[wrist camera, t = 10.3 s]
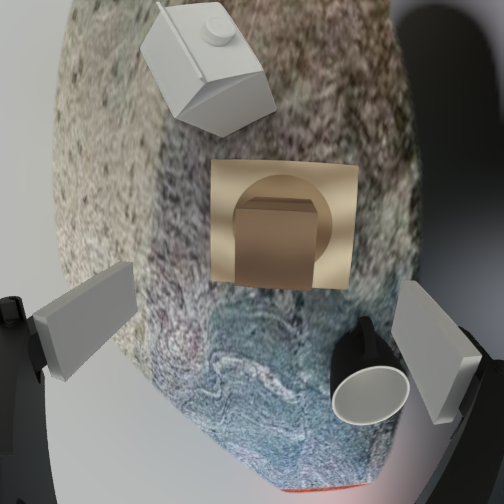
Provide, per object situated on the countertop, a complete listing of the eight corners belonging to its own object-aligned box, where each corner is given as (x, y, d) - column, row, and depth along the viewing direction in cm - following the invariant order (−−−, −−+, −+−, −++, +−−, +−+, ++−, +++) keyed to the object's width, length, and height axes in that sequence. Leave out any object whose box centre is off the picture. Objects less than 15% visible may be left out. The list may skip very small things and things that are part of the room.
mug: (387, 371, 39) (404, 418, 29) (326, 379, 40) (331, 430, 31) (391, 295, 36) (417, 334, 26) (323, 304, 38) (330, 347, 28)
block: (254, 196, 33) (235, 208, 23) (310, 199, 33) (318, 212, 22) (253, 250, 35) (234, 285, 24) (307, 253, 34) (311, 290, 24)
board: (215, 159, 35) (210, 159, 33) (355, 166, 33) (358, 165, 31) (215, 275, 39) (210, 281, 37) (345, 283, 37) (347, 290, 34)
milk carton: (222, 138, 34) (149, 110, 16) (196, 89, 33) (112, 31, 15) (277, 110, 33) (257, 48, 14) (249, 61, 31) (205, -25, 13)
